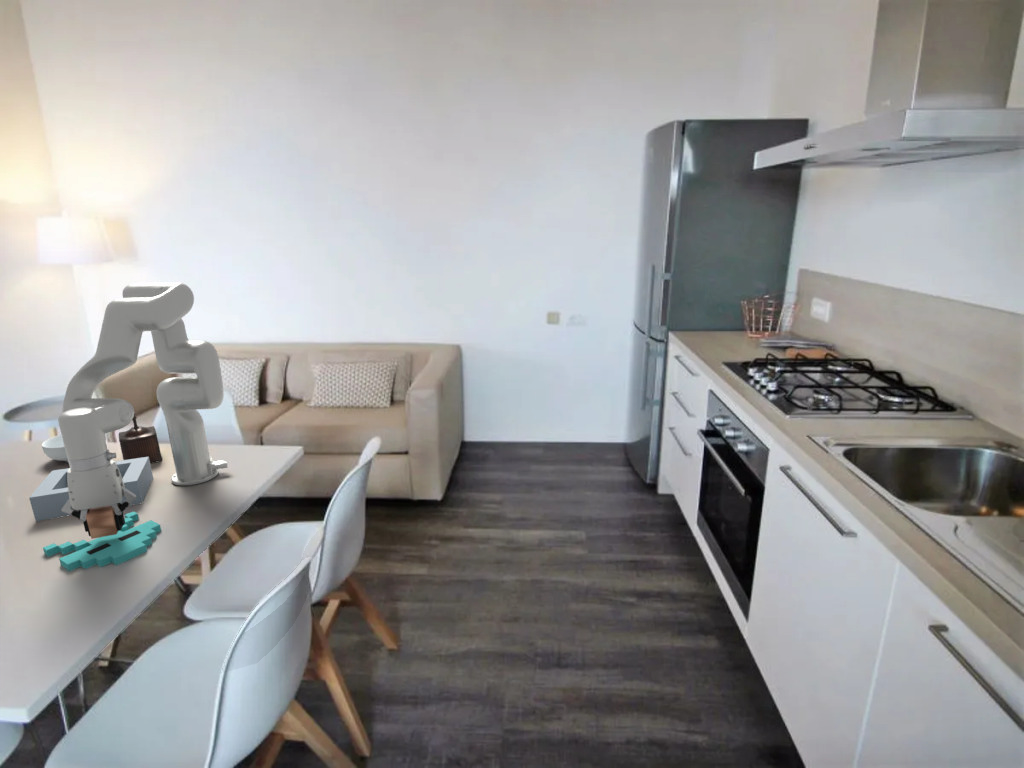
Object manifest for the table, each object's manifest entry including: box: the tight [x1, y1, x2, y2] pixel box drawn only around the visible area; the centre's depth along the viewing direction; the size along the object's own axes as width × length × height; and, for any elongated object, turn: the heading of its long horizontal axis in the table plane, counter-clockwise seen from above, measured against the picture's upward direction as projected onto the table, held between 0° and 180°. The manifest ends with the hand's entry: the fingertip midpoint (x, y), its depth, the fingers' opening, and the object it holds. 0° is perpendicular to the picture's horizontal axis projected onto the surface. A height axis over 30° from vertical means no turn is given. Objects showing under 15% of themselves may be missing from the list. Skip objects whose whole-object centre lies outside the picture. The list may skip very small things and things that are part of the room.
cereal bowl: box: [41, 434, 107, 463], centre depth 188 cm, size 17×17×7 cm
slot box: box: [28, 457, 154, 522], centre depth 160 cm, size 24×18×7 cm
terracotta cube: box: [86, 506, 118, 540], centre depth 135 cm, size 5×5×6 cm
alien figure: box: [42, 511, 162, 572], centre depth 137 cm, size 20×2×20 cm
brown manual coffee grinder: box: [118, 412, 163, 464], centre depth 183 cm, size 16×11×18 cm
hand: (106, 529), depth 135 cm, fingers closed on terracotta cube, 5 cm apart
